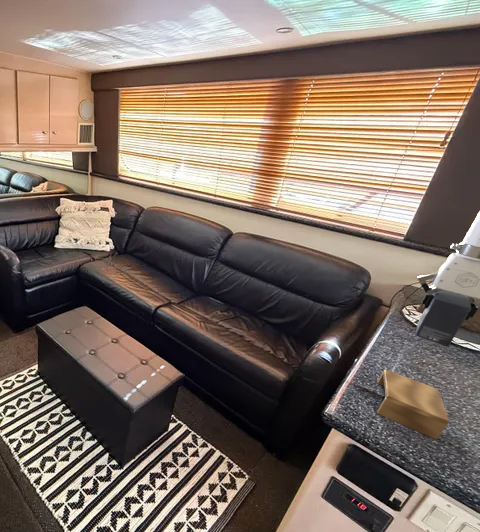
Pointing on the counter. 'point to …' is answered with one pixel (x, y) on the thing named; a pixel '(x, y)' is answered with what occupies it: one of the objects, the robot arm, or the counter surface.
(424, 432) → the tan bracket
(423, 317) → the small box
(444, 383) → the counter surface
